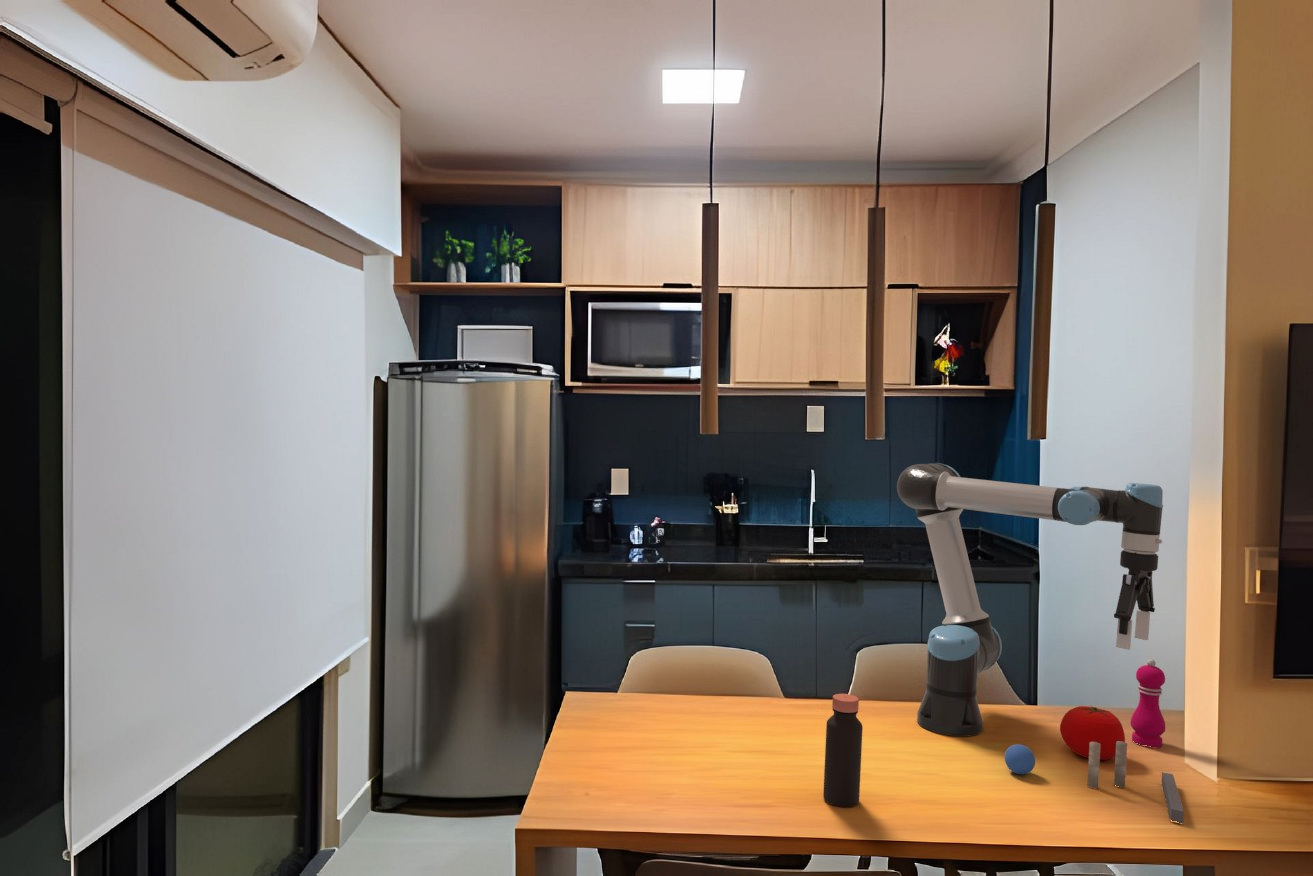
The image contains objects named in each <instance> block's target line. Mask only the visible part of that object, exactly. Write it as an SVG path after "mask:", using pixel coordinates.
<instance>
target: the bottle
mask: <svg viewBox="0 0 1313 876" xmlns="http://www.w3.org/2000/svg"><path fill="white" fill-rule="evenodd" d="M859 701H860V700H859V697H857V696H856V695H852V694H850V693H849V694H848V693H836V694H834V695H832V701H831V702H832V706H831V707H832V711H833V714H832V715H831V716H830V717H829V718H828V719H827V720H826V728H825V729H826V730H825V731H826V732H825V746H824V747H825V748H824V749H825V750H824V751H825V752H824V753H825V754H824V770H823V771H824V773H823V790H822V791H823V793H822V794H823V795H822V796H823V800H824V801H825V802H826V803H827V804H829V805H831V806H834V807H838V808H853V807H855V806H857V805H858V804H859V803H860V795H861V794H860V791H861V788H860V787H861V769H862V748H863V747H862V745H863V729H864V728H863V724H862V722H861V721H860V720H859V718H858V717H857V715H858V713H859V704H860V703H859Z"/></svg>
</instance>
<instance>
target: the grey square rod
mask: <svg viewBox="0 0 1313 876" xmlns="http://www.w3.org/2000/svg"><path fill="white" fill-rule="evenodd" d="M1160 782H1161V783H1162V784H1161V788H1163V789H1162V792H1164V793H1163V796H1165V797H1164V800H1165V799H1166V801H1165V804H1167V805H1166V809H1167V808H1168V809H1167V813H1168V812H1169V813H1168V816H1169V815H1170V817H1169V820H1170V819H1171V820H1172V821H1177V822H1179V823H1183V824H1184V816H1185V815H1184V814H1185V813H1184V808H1183V804H1182V801H1181V797H1180V793H1179V790H1178V787H1177V782H1176V780H1175V776H1174V774H1173V773H1169V772H1164V771H1162V772H1161V781H1160Z"/></svg>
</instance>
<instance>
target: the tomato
mask: <svg viewBox="0 0 1313 876" xmlns="http://www.w3.org/2000/svg"><path fill="white" fill-rule="evenodd" d="M1059 732H1060V735H1061V738H1062V740H1063V742H1064V743H1065V745H1066V746H1067V747H1068V748H1069V749H1070V750H1071V751H1073V752H1074V753H1076V755H1078V756H1081V757H1084V758H1086V759H1089V746H1090V742H1097V743H1100V744H1101V745H1100V761H1101V760H1102V761H1104V760H1111V759H1114V758H1115V757H1116V742H1117V741H1122V742H1126V735H1125V731H1124V727H1123V724H1122V723H1121V721H1120V720H1119V718H1118V717H1117V716H1116V715H1115V714H1114V713H1113V712H1112V711H1109V710H1106V709H1103V708H1098V707H1094V706H1092V705H1090V706H1086V705H1085V706H1084V705H1081V706H1080V705H1079V706H1076V707H1073V708H1071V709H1069V710H1068V711H1067V712H1065V713H1064V715H1063V717H1062V719H1061V722H1060V724H1059Z"/></svg>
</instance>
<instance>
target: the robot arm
mask: <svg viewBox="0 0 1313 876" xmlns="http://www.w3.org/2000/svg"><path fill="white" fill-rule="evenodd" d="M896 491H897V494H898V497H899V499H900V500H901V502H903V504H905V505H906V506H907V507H909V508H912V509H915V513H916V517H917V519H918V520H919V521H921V522H922V523H924V525H925V529H926V534H927V538H928V542H929V545H930V546H929V547H930V551H931V554H932V558H933V559H932V560H933V563H934V567H935V570H936V575H937V579H938V585H939V588H940V592H941V597H942V600H943V605H944V610H945V612H946V614H945V618H943V620H942V622H941V623H942V625H940V626H936V627H935V628H933V629H932V630H931V631H930V632H929V634H928V640H927V644H926V645H927V658H926V659H927V661H926V686H925V687H926V688H925V693H924V695H923V697H922V700H921V702H920V705H919V707H918V709H917V716H916V717H917V718H916V723H917V724H918V725H919V726H920V727H922V728H924V729H926V730H928V731H931V732H933V733H937V734H942V735H947V736H954V737H972V736H976V735H979V734H982V732H983V727H984V726H983V725H984V724H983V723H984V722H983V717H982V714H981V710H980V706H979V703H978V699H977V689H978V688H977V687H978V674H980V673H982V672H984V671H986V670H989V669H990V668H991V667H993V666H994V665H995V664H996V662H998V660H999V658H1000V656H1001V655H1002V651H1003V650H1002V648H1003V644H1002V639H1001V636H1000V634H999V633H998V631H997V630H996V629H995V627H993V626H992V623H991V619H990V616H989V613H986V611H984V610H983V609H982V608H981V604H980V600H979V596H978V592H977V587H976V584H975V581H974V579H975V578H974V575H973V572H972V567H971V563H970V560H969V556H968V550H967V546H966V543H965V539H964V534H963V530H962V525H961V522H960V515H961V514H962V512H963V511H964V510H970V511H978V512H985V513H994V514H1000V515H1001V514H1002V515H1011V516H1017V517H1024V518H1025V517H1027V518H1032V519H1034V518H1035V519H1040V520H1041V519H1042V520H1050V521H1056V522H1057V521H1058V522H1064V523H1068V524H1070V525H1074V526H1087V525H1089V524H1091V523H1093V522H1097V521H1099V522H1100V521H1101V522H1110V523H1118V524H1119V523H1120V524H1122V533H1121V545H1120V547H1121V548H1122V549H1123V550H1121V552H1120V557H1119V558H1120V560H1119V561H1120V562H1119V565H1120V566H1121V568H1125V569H1128V573H1126V574H1125V573H1124V574H1123V575H1122V582H1121V587H1120V591H1119V597H1118V600H1117V605H1116V610H1115V613H1113V618H1115V619H1117V631H1116V643H1115V645H1116V646H1115V647H1116V648H1120V649H1124V650H1128V651H1129V650H1130V651H1131V645H1132V644H1131V643H1132V632H1133V631H1132V629H1133V620H1132V617H1133V613H1134V610H1135V607H1136V604H1137V607H1138V609H1137V610H1136V613H1135V614H1136V615H1135V627H1134V628H1135V629H1134V638H1135V639H1139V640H1143V641H1148V640H1149V635H1150V621H1151V613H1155V610H1156V609H1155V607H1154V606H1155V604H1154V592H1153V591H1154V590H1153V589H1154V588H1153V572H1155V571H1157V570H1158V566H1159V565H1158V564H1159V555H1158V554H1157V553H1158V552H1159V549H1160V545H1161V544H1163V540H1162V539H1160V537H1161V527H1162V516H1163V515H1162V514H1163V507H1164V505H1163V497H1164V496H1163V493H1164V492H1163V488H1162V487H1161V486H1160V485H1157V484H1150V483H1138V482H1128V483H1127V484H1126V485H1125V488H1124V490H1122V489H1121V490H1120V489H1118V490H1117V489H1116V490H1115V489H1108V488H1107V489H1106V488H1098V487H1091V486H1072V487H1070V488H1065V487H1063V488H1061V487H1053V486H1045V485H1036V484H1025V483H1017V482H1015V483H1014V482H1007V481H1000V480H998V481H996V480H990V479H988V480H987V479H979V478H970V477H969V478H968V477H961V475H960V474H959V473H958V471H956V469H954V468H953V467H951V466H949V465H947V464H944V463H940V462H934V463H933V462H932V463H918V464H917V463H916V464H912V465H910V466H908V467H907V468H905V469H904V470H903V471H902V472H900V474H899V477H898V479H897V483H896Z"/></svg>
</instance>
